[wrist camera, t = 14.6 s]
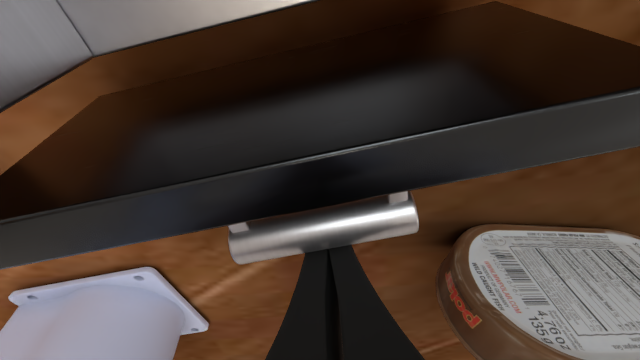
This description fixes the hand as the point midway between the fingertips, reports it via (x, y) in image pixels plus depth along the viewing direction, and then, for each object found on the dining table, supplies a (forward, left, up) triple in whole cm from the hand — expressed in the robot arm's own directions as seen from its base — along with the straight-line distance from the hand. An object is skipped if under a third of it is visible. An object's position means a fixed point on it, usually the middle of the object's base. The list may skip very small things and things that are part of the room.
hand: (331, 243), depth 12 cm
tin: (+12, -7, -4) cm, 15 cm away
